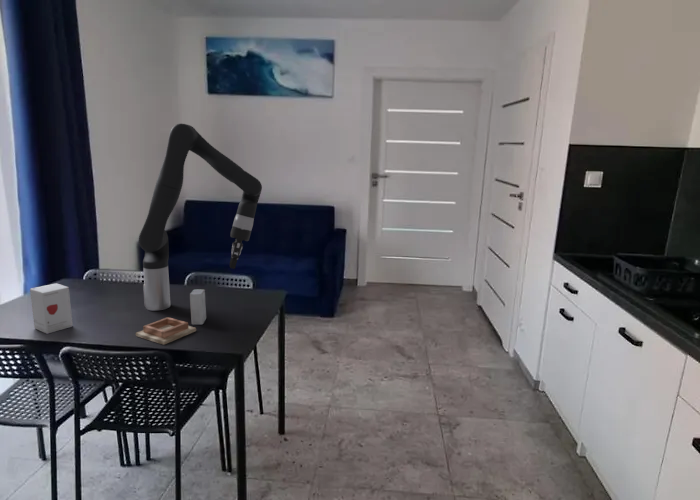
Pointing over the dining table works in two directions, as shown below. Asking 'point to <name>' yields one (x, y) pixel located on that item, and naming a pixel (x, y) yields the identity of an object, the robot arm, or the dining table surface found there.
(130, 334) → the dining table surface
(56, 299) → the supplement box
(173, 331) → the serum stand
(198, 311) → the skincare box
